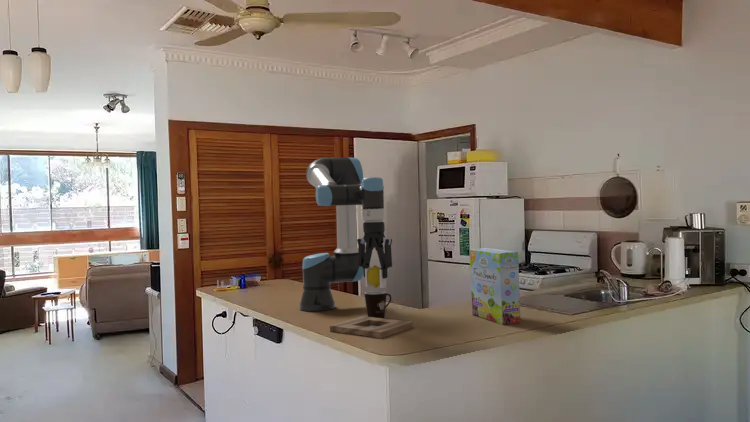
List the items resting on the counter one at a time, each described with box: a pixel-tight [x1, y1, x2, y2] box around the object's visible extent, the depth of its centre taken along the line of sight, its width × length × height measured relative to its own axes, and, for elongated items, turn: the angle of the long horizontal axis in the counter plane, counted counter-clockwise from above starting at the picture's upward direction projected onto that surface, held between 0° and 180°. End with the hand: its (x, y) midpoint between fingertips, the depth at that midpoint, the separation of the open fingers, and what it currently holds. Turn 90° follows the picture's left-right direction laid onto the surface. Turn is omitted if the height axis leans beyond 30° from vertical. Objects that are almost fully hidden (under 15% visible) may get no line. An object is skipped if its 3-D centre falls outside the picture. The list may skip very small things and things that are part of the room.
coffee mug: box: [363, 290, 392, 319], centre depth 218 cm, size 12×9×10 cm
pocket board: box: [329, 315, 413, 339], centre depth 198 cm, size 22×19×2 cm
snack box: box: [469, 247, 522, 326], centre depth 210 cm, size 22×9×26 cm, turn 21°
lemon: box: [368, 264, 381, 289], centre depth 199 cm, size 6×6×8 cm
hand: (375, 287), depth 199 cm, fingers closed on lemon, 5 cm apart
